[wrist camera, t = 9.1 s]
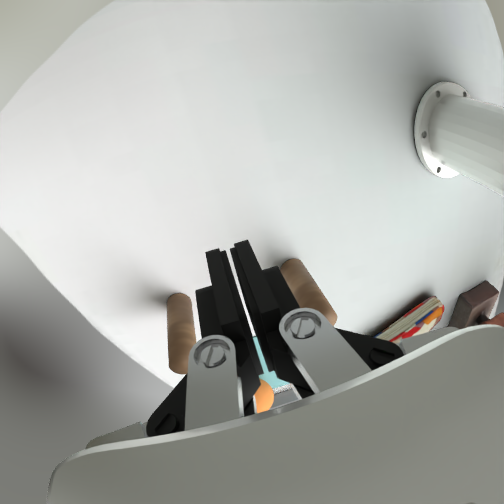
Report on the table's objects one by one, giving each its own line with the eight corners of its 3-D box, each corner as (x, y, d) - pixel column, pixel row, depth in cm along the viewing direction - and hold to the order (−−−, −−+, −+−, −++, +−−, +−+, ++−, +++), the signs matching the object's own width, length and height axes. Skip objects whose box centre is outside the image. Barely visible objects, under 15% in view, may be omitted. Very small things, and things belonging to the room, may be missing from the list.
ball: (264, 370, 45) (267, 374, 39) (277, 403, 44) (281, 411, 38) (228, 382, 44) (226, 388, 39) (242, 415, 43) (241, 425, 37)
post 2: (301, 255, 34) (337, 306, 26) (304, 275, 35) (337, 327, 28) (278, 262, 33) (308, 317, 26) (281, 282, 35) (310, 337, 27)
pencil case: (428, 323, 50) (442, 340, 46) (341, 370, 49) (353, 391, 45) (435, 283, 44) (452, 300, 40) (336, 335, 43) (350, 359, 39)
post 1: (186, 290, 32) (193, 352, 25) (194, 308, 34) (203, 370, 26) (163, 297, 32) (164, 359, 25) (172, 315, 34) (175, 376, 26)
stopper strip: (303, 384, 48) (307, 396, 46) (303, 388, 49) (308, 399, 47) (236, 405, 47) (239, 417, 45) (238, 408, 48) (241, 420, 45)
